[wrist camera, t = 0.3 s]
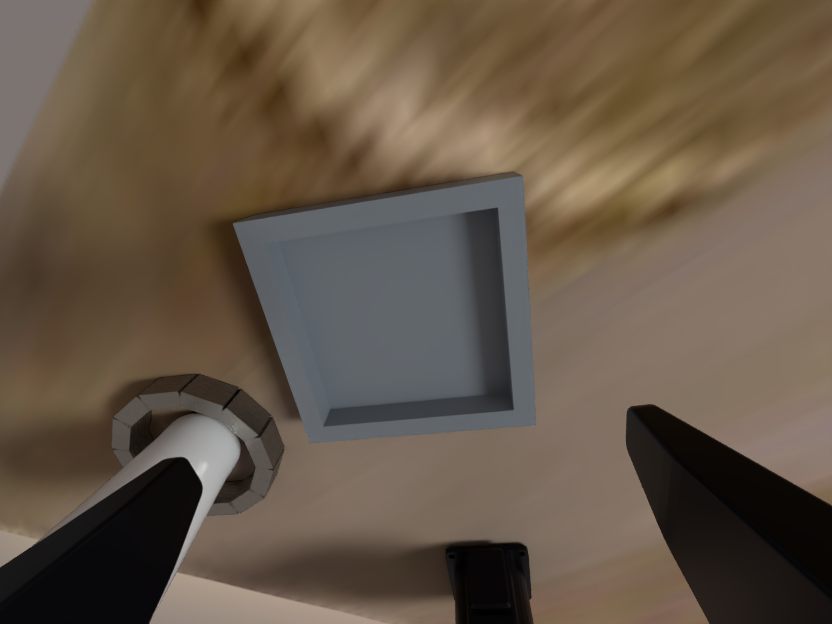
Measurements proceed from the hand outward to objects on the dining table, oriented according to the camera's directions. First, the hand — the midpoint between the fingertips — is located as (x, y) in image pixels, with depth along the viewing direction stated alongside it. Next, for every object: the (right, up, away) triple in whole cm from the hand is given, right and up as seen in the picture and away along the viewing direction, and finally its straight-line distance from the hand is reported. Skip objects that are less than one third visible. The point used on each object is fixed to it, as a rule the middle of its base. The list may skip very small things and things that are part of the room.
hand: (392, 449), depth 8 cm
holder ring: (-15, -7, +20) cm, 26 cm away
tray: (0, +3, +15) cm, 16 cm away
